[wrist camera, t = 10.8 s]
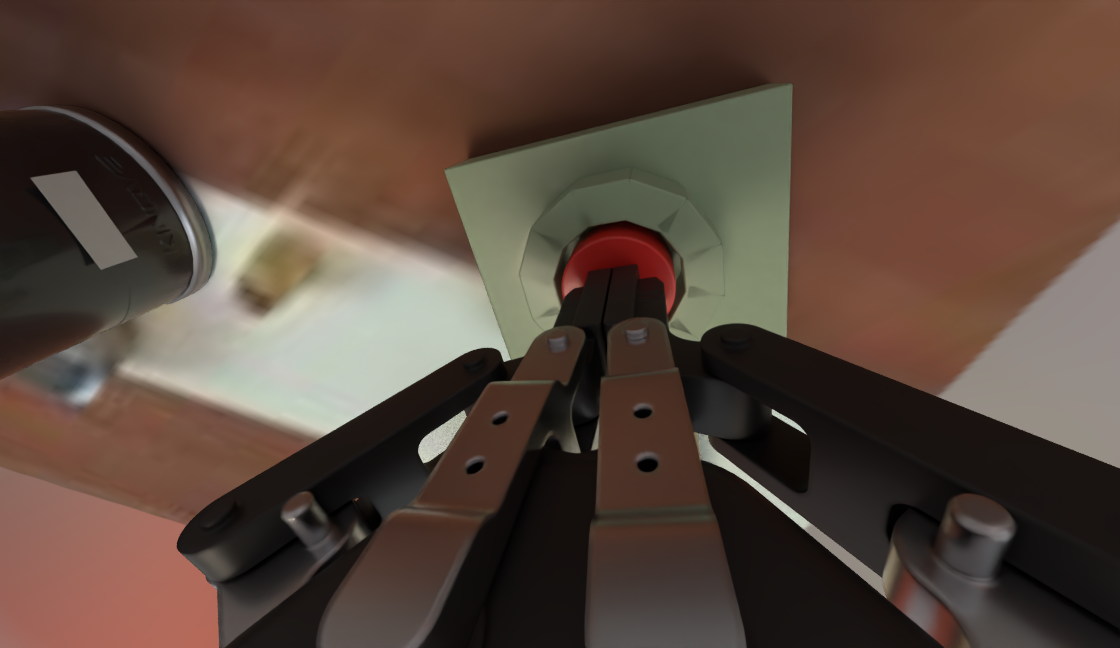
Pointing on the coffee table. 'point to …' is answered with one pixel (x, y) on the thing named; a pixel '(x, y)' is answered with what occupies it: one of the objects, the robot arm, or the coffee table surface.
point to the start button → (621, 256)
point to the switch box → (642, 210)
